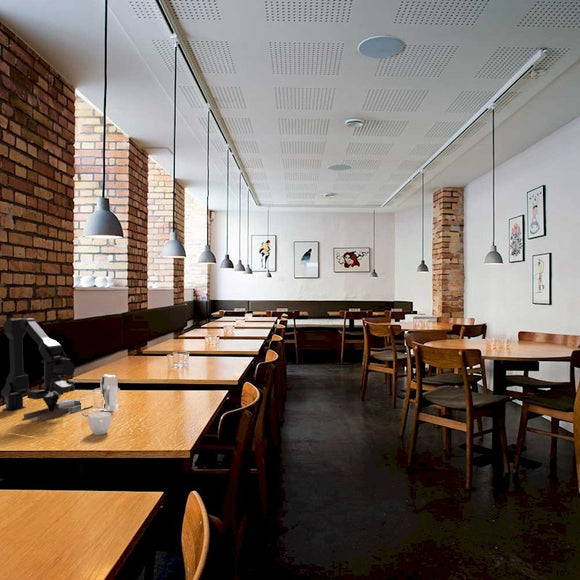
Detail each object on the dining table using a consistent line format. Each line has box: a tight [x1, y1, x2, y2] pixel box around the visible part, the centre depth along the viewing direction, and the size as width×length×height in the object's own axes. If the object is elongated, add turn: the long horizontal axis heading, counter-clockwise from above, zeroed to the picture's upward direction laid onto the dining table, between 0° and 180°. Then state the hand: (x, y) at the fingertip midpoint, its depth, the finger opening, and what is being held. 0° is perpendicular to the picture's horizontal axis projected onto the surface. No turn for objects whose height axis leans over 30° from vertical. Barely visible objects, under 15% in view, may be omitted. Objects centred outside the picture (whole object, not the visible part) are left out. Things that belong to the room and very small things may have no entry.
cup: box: [87, 411, 112, 436], centre depth 172 cm, size 8×10×7 cm
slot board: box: [21, 399, 82, 423], centre depth 200 cm, size 12×26×2 cm, turn 158°
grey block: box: [60, 398, 75, 411], centre depth 204 cm, size 4×4×4 cm
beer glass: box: [99, 373, 119, 412], centre depth 205 cm, size 7×7×15 cm
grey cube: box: [54, 400, 67, 411], centre depth 200 cm, size 4×4×4 cm
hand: (51, 411), depth 197 cm, fingers closed
